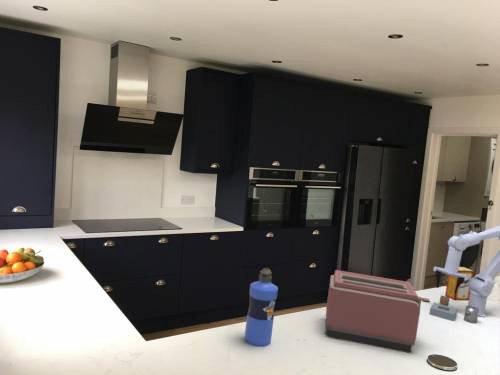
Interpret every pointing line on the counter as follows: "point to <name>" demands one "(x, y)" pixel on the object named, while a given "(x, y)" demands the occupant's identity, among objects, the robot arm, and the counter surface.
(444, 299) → the square peg
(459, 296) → the baking soda box
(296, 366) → the counter surface
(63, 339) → the counter surface
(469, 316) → the round peg
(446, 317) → the socket block
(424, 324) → the counter surface
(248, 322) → the water bottle
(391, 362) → the counter surface
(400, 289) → the toaster
